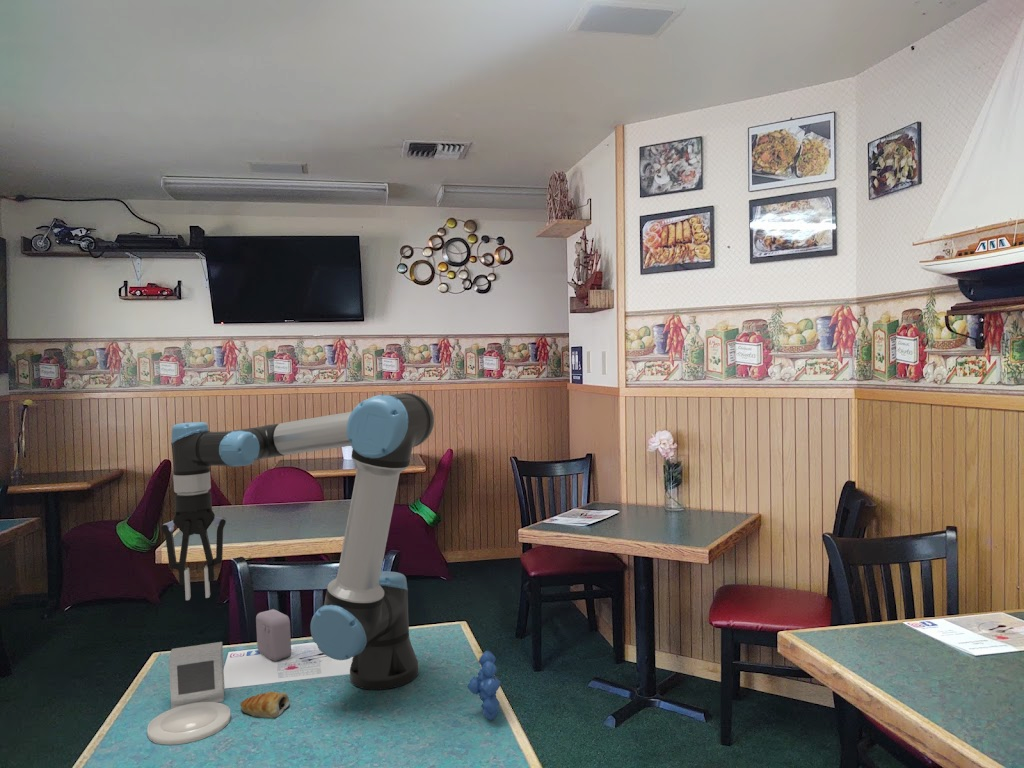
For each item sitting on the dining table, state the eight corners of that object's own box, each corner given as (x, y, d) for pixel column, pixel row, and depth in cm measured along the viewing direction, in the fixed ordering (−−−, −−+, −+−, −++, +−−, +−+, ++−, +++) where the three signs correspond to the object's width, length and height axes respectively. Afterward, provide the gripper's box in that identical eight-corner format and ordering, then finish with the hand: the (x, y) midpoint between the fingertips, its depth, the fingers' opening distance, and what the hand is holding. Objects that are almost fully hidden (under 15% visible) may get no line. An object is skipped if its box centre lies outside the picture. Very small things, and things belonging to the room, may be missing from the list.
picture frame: (224, 691, 161) (222, 641, 161) (223, 702, 156) (220, 650, 156) (174, 699, 158) (171, 648, 158) (171, 710, 153) (168, 657, 153)
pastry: (233, 717, 149) (233, 698, 149) (251, 702, 156) (251, 684, 156) (276, 720, 147) (275, 701, 147) (293, 705, 154) (292, 686, 154)
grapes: (466, 702, 152) (464, 644, 151) (499, 699, 152) (497, 641, 152) (469, 730, 140) (467, 667, 140) (505, 727, 141) (503, 664, 140)
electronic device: (255, 652, 183) (253, 612, 183) (273, 647, 186) (271, 607, 186) (273, 663, 176) (271, 621, 175) (291, 658, 179) (289, 616, 179)
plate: (245, 709, 152) (245, 703, 152) (200, 747, 137) (199, 740, 137) (180, 705, 155) (180, 699, 155) (129, 741, 141) (129, 734, 140)
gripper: (233, 486, 171) (238, 587, 171) (154, 492, 166) (159, 597, 166) (231, 491, 163) (236, 597, 164) (149, 498, 158) (155, 607, 159)
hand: (198, 596), depth 165 cm, fingers open, 3 cm apart
